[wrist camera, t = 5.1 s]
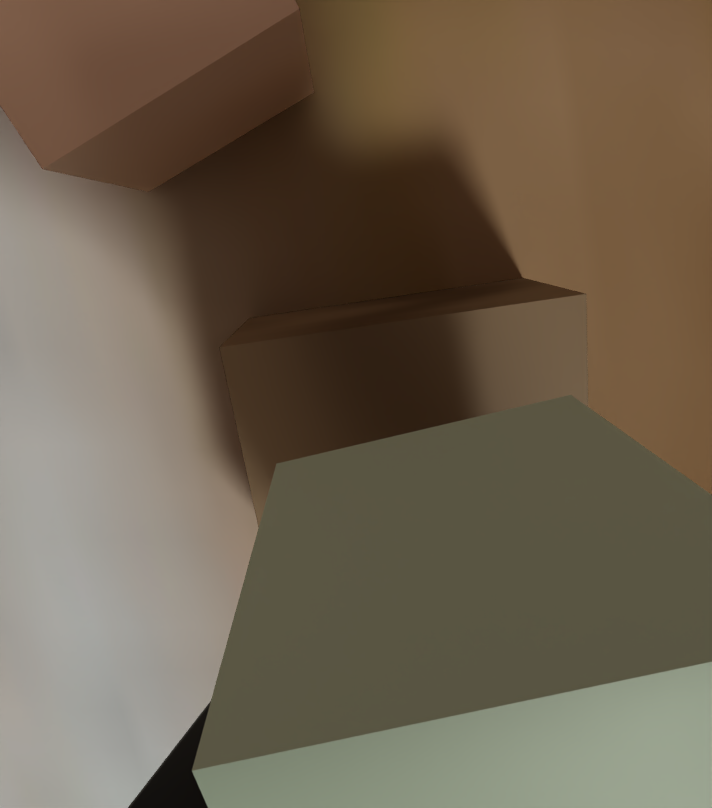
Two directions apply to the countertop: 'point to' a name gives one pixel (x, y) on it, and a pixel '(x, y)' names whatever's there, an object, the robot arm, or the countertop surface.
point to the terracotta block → (145, 80)
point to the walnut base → (398, 367)
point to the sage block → (472, 626)
